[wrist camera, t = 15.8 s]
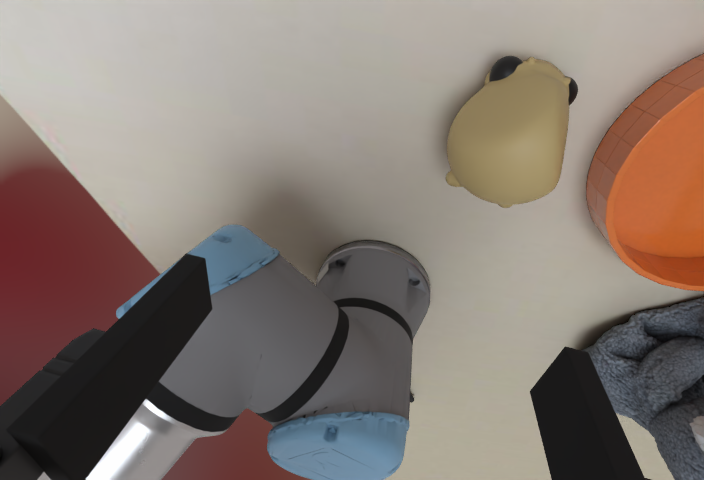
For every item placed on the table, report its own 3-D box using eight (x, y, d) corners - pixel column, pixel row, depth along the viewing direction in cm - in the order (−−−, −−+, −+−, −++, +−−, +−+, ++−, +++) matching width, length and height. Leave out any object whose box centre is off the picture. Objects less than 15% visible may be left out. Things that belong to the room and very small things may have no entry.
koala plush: (743, 381, 44) (920, 594, 28) (582, 395, 51) (649, 571, 35) (748, 280, 36) (992, 491, 20) (559, 313, 44) (630, 488, 28)
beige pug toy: (538, 129, 36) (637, 58, 25) (508, 233, 33) (605, 202, 23) (453, 89, 35) (519, -1, 24) (415, 192, 32) (472, 141, 22)
